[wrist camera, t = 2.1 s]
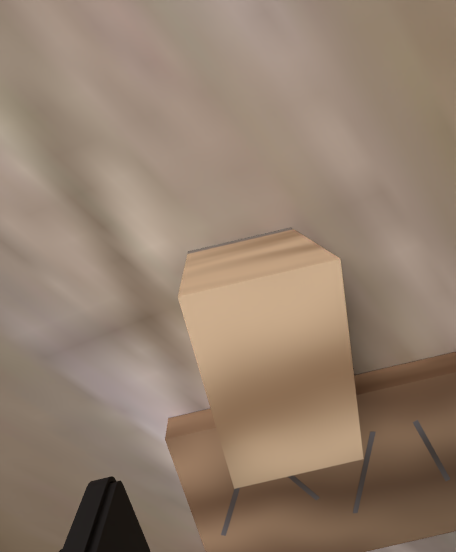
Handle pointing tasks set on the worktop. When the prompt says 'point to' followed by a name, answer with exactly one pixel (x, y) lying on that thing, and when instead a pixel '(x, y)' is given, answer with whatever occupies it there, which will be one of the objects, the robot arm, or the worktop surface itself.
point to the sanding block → (273, 354)
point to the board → (337, 474)
